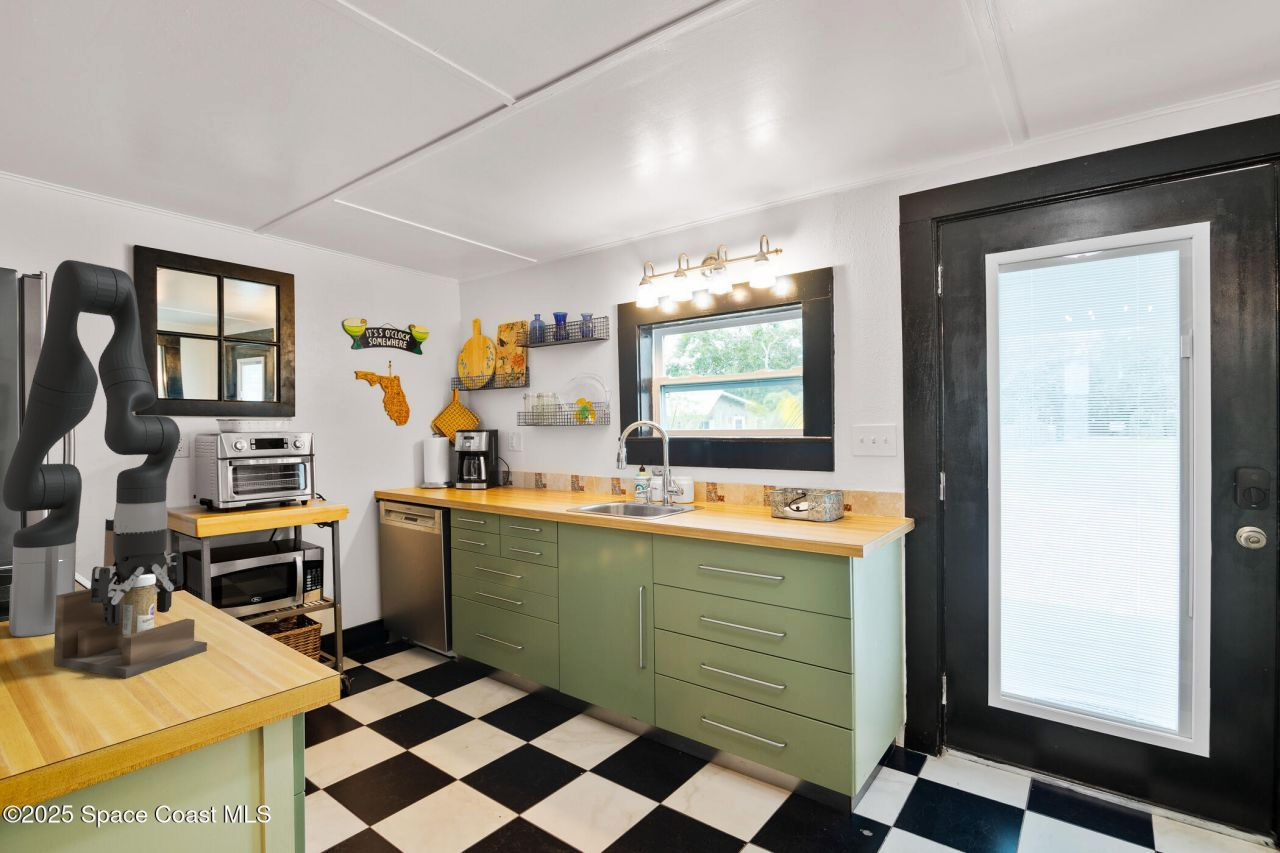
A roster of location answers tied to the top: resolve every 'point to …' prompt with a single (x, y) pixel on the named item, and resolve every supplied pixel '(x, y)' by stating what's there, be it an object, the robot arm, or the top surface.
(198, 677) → the top surface
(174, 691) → the top surface
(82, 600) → the wooden tiered slot stand
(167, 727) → the top surface
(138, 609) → the sprinkles bottle
